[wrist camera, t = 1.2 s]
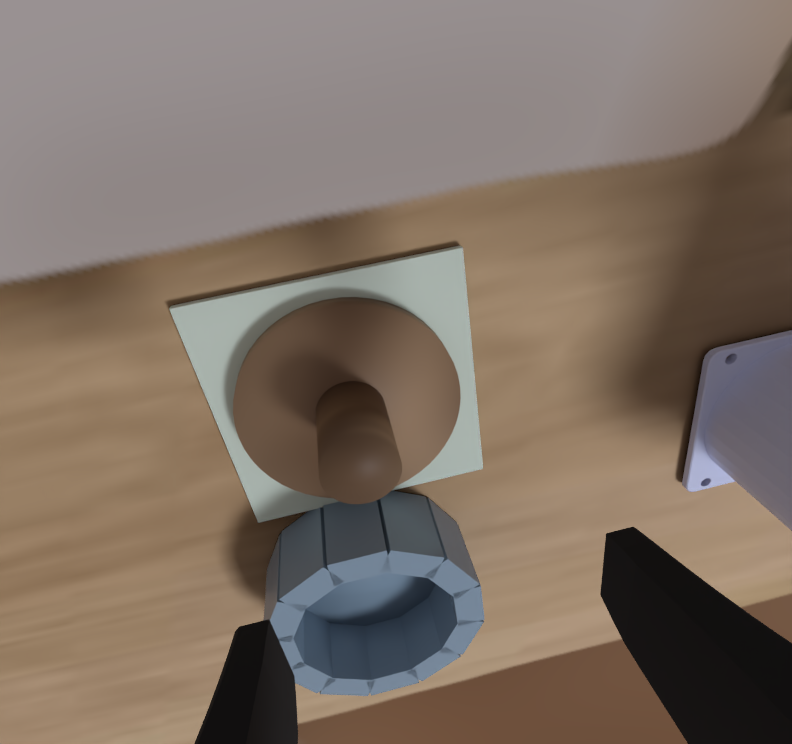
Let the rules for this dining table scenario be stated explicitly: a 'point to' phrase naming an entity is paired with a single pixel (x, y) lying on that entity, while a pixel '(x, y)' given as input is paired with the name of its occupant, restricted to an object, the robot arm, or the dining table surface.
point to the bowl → (372, 595)
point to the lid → (346, 399)
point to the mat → (261, 307)
